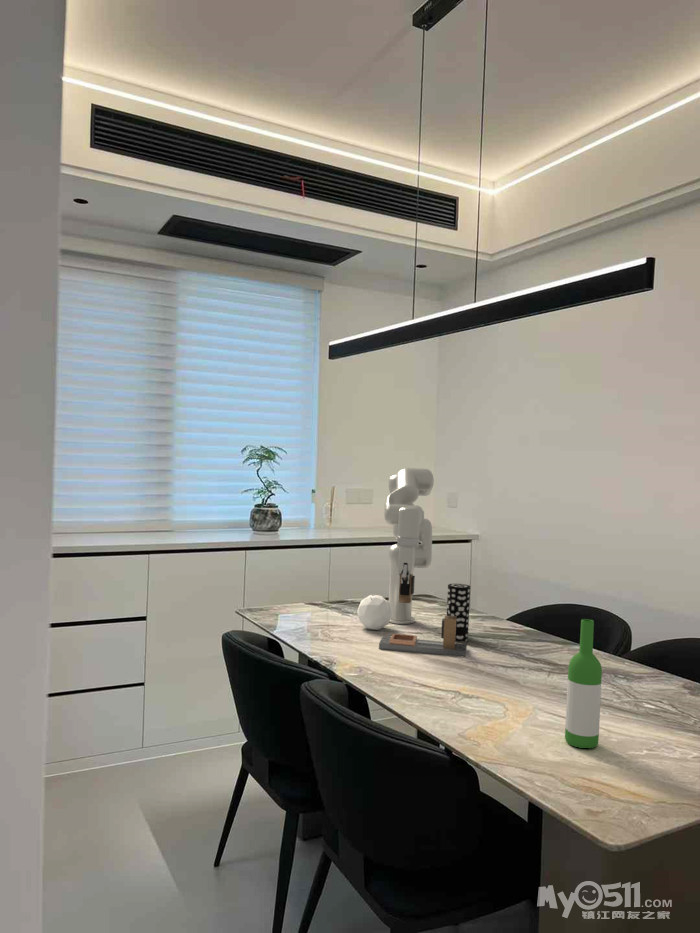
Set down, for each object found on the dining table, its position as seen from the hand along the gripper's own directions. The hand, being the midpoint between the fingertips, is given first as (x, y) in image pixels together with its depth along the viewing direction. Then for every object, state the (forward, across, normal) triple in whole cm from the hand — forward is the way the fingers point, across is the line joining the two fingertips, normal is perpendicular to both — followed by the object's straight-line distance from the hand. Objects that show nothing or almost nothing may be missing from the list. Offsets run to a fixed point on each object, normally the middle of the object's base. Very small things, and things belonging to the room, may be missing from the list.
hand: (405, 593), depth 252 cm
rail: (+19, 0, +7) cm, 21 cm away
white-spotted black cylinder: (+20, -19, +18) cm, 33 cm away
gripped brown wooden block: (+3, 0, 0) cm, 3 cm away
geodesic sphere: (+20, -23, -14) cm, 33 cm away
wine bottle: (+20, +72, +51) cm, 90 cm away
